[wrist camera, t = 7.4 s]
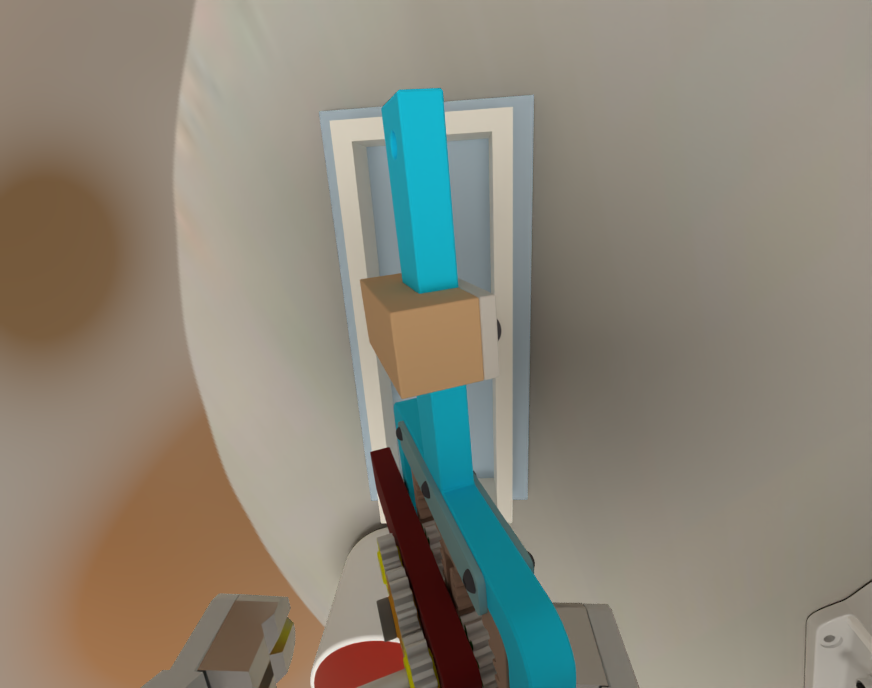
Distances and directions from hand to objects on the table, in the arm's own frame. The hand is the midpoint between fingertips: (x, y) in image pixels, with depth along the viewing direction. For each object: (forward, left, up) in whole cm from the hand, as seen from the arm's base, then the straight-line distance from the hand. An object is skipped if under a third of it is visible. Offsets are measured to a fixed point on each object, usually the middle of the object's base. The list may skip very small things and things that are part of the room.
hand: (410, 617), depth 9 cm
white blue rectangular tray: (0, 0, -21) cm, 21 cm away
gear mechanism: (0, +3, -5) cm, 6 cm away
